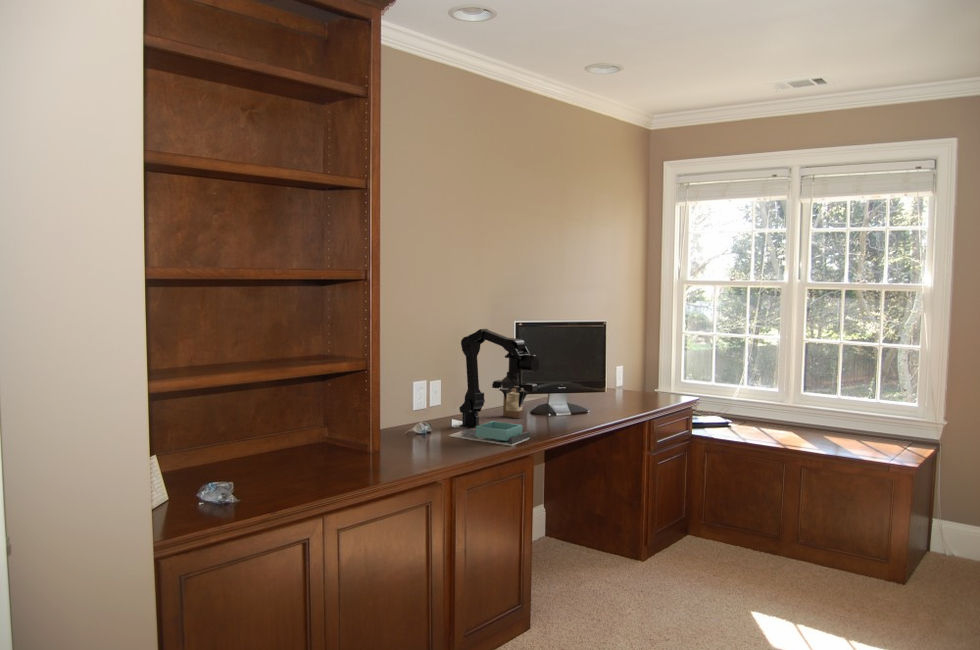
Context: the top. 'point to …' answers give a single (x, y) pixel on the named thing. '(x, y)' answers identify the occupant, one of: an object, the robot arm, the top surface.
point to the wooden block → (512, 413)
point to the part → (513, 402)
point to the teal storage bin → (498, 430)
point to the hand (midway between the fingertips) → (514, 406)
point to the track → (471, 435)
